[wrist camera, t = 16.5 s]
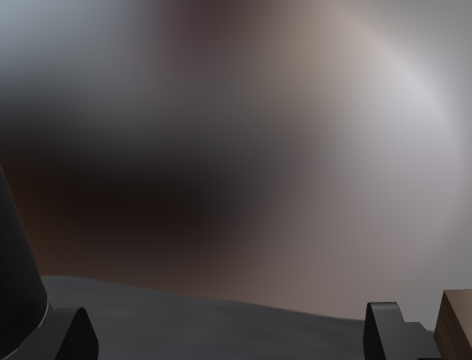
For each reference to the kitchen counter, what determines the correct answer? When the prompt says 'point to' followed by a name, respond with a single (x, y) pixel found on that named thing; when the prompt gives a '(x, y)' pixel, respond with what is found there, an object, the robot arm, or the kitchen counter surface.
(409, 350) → the robot arm
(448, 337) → the brown rectangular block
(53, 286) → the kitchen counter surface
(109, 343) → the kitchen counter surface
